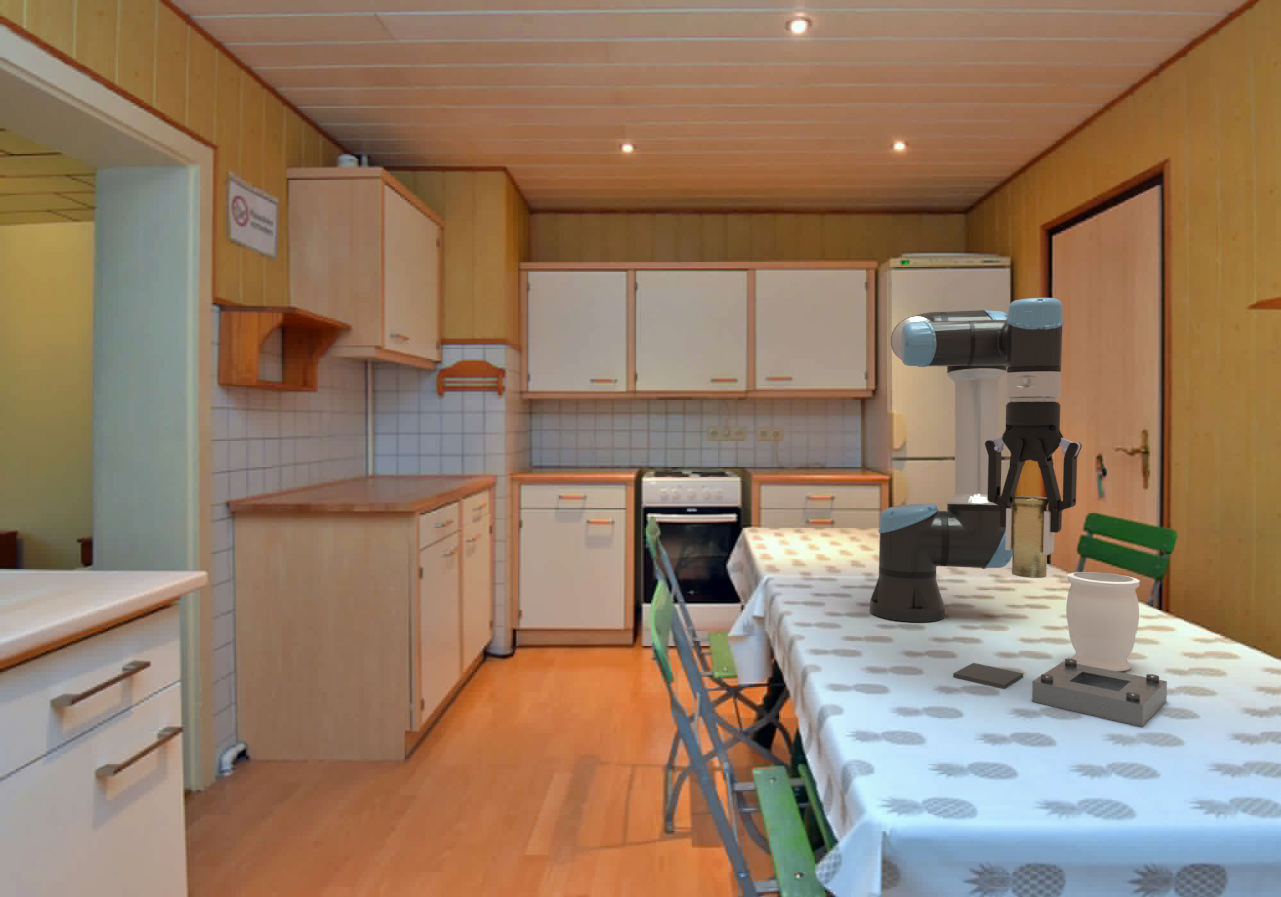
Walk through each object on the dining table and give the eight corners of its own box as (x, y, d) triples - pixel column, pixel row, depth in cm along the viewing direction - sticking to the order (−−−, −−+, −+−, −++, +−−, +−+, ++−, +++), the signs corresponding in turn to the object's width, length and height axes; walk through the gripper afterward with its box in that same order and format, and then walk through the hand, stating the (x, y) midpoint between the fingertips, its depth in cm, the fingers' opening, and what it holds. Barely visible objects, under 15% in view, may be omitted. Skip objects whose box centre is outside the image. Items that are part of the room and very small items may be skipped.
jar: (1129, 659, 138) (1131, 573, 138) (1145, 677, 129) (1147, 584, 128) (1060, 653, 142) (1062, 569, 141) (1071, 670, 132) (1072, 580, 132)
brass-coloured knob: (1005, 574, 124) (1007, 497, 124) (1017, 569, 128) (1018, 495, 128) (1041, 579, 121) (1043, 500, 120) (1052, 574, 125) (1054, 497, 124)
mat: (953, 677, 129) (953, 673, 129) (973, 666, 134) (973, 662, 134) (1004, 688, 123) (1004, 684, 123) (1023, 677, 129) (1023, 673, 129)
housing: (1032, 701, 117) (1032, 675, 117) (1063, 679, 127) (1063, 656, 127) (1142, 727, 108) (1142, 699, 107) (1166, 701, 118) (1167, 675, 117)
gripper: (965, 400, 126) (962, 547, 128) (1091, 399, 114) (1086, 561, 116) (982, 401, 132) (979, 541, 133) (1104, 400, 120) (1100, 554, 121)
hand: (1029, 550), depth 124 cm, fingers closed on brass-coloured knob, 5 cm apart
